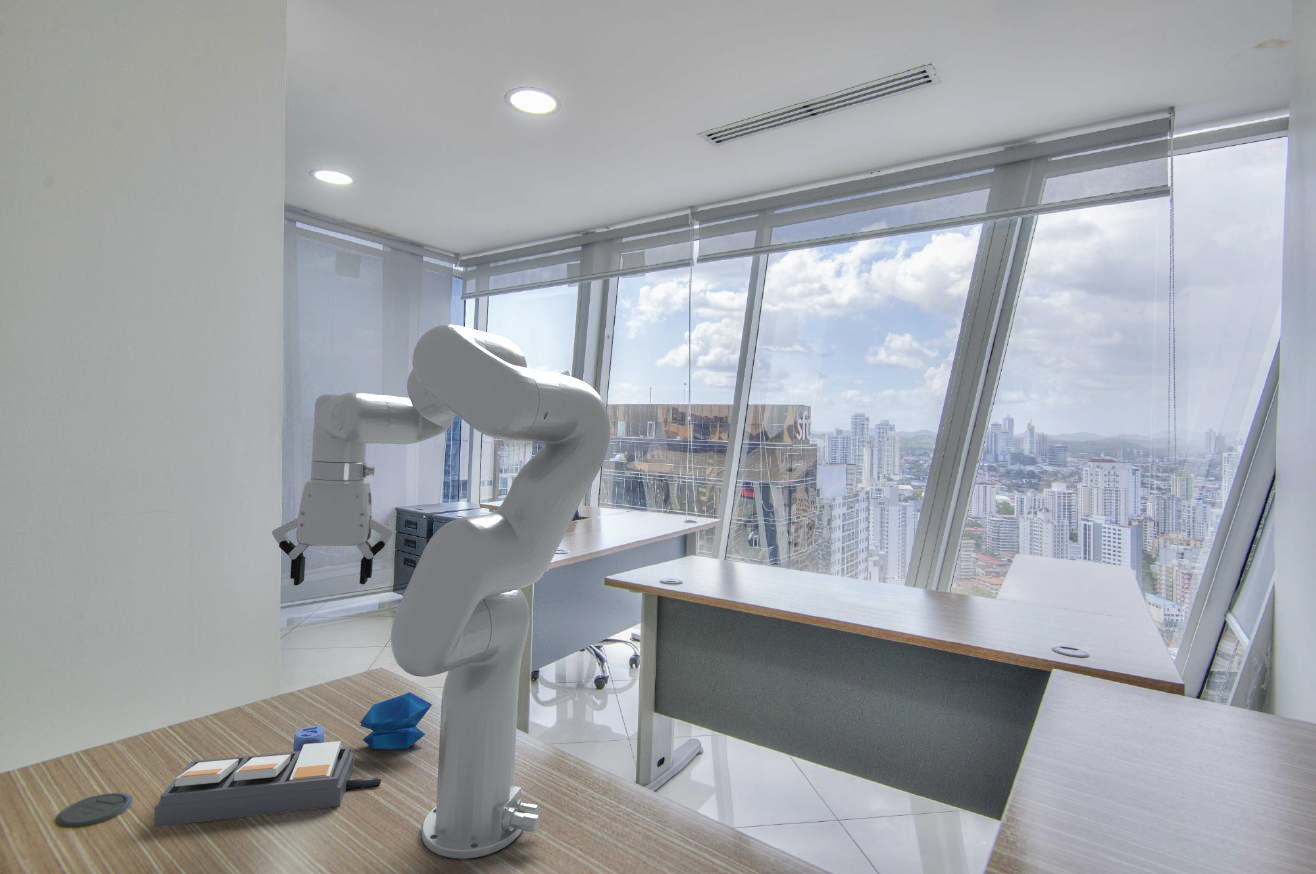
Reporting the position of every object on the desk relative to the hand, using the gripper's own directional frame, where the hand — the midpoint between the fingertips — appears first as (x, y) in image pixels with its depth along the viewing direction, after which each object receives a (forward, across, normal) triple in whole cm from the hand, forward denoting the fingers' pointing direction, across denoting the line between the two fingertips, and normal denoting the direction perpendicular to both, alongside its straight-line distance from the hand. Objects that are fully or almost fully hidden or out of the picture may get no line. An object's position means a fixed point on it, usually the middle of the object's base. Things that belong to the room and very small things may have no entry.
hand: (331, 582), depth 97 cm
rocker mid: (+23, +5, +12) cm, 26 cm away
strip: (+26, +3, +12) cm, 29 cm away
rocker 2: (+23, -2, +12) cm, 26 cm away
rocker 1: (+23, +11, +11) cm, 28 cm away
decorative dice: (+27, +2, +1) cm, 27 cm away
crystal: (+27, -11, 0) cm, 29 cm away
